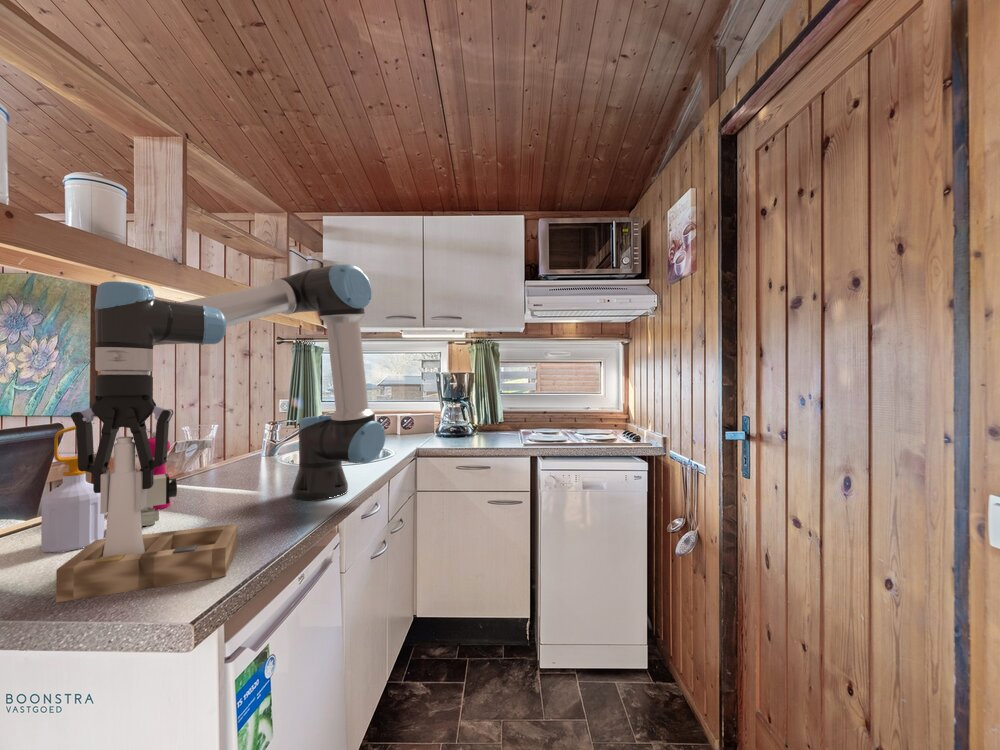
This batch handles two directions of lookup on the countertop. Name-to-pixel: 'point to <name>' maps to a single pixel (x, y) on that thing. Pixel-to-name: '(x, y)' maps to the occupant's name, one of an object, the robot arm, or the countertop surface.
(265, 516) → the countertop surface
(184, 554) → the wooden compartment tray
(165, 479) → the pneumatic valve
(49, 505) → the soap bottle
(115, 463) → the cosmetic bottle
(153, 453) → the pepper mill
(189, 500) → the countertop surface
